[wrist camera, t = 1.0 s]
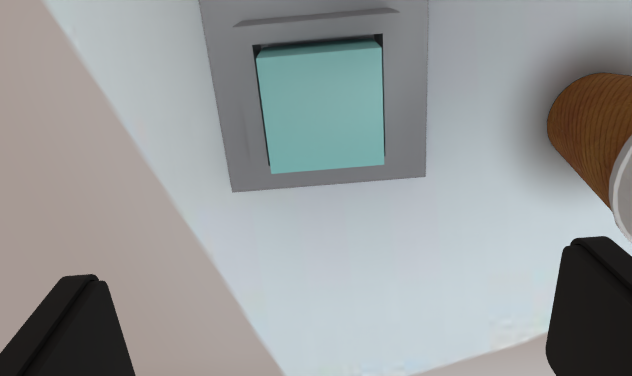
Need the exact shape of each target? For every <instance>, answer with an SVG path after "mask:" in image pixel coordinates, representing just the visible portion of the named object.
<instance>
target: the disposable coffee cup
mask: <svg viewBox="0 0 632 376" xmlns="http://www.w3.org/2000/svg"><path fill="white" fill-rule="evenodd" d="M547 132H548V137H549V139H550V142H551V144H552V145H553V146H554V147H555V149H556V150H557V151H558V152H559V153H560V154H561V155H562V156H563V158H564V159H565V160H566V161H567V162H568V163H569V164H570V165H571V166H572V167H573V169H574V170H575V171H576V172H577V173H578V174H579V175H580V176H581V178H582V179H583V180H584V181H585V182H586V183H587V184H588V185H589V186H590V188H591V189H592V190H593V191H594V192H595V193H596V194H597V195H598V196H599V198H600V199H601V200H602V201H603V202H604V203H605V204H606V205H607V207H609V208H610V210H611V211H612V212H613V215H614V218H615V222H616V225H617V226H618V228H619V229H620V230H621V232H622V233H623V234H624V236H625V237H626V238H627V239H628V240H629V241H630V242H631V243H632V76H629V75H617V74H611V73H597V74H591V75H588V76H585V77H583V78H580V79H579V80H577V81H575V82H573V83H572V84H571V85H570V86H568V87H567V88H566V89H565V90H564V91H563V92H562V93H561V94H560V95H559V96H558V98H557V99H556V101H555V102H554V104H553V106H552V108H551V110H550V113H549V116H548V120H547Z"/></svg>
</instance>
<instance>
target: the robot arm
mask: <svg viewBox="0 0 632 376" xmlns="http://www.w3.org/2000/svg"><path fill="white" fill-rule="evenodd" d="M546 356H547V360H548V363H549V365H550V366H551V368H552V369H553V371H554V373H555V374H556V376H632V256H630V255H629V254H628V253H627V252H626V251H624V250H623V249H622V248H621V247H620V246H618V245H617V244H616V243H615V242H614V241H612V240H611V239H610V238H608V237H605V236H599V237H586V238H576V239H574V240H573V241H572V242H571V244H570V246H566V247H565V248H564V249H563V252H562V257H561V263H560V268H559V274H558V280H557V285H556V291H555V297H554V302H553V308H552V314H551V319H550V325H549V331H548V337H547V342H546ZM0 376H135V372H134V370H133V366H132V363H131V359H130V356H129V353H128V350H127V347H126V343H125V340H124V337H123V333H122V330H121V327H120V324H119V320H118V317H117V314H116V311H115V308H114V305H113V301H112V298H111V294H110V291H109V288H108V285H107V283H106V282H105V281H99V279H98V278H97V276H96V275H93V274H88V275H75V276H65V277H62V278H61V279H60V280H59V281H58V283H57V284H56V285H55V286H54V288H53V289H52V290H51V291H50V292H49V294H48V295H47V296H46V297H45V299H44V300H43V301H42V302H41V304H40V305H39V306H38V307H37V309H36V310H35V311H34V312H33V313H32V315H31V316H30V317H29V318H28V320H27V321H26V322H25V324H24V325H23V326H22V327H21V328H20V330H19V331H18V332H17V333H16V335H15V336H14V337H13V338H12V340H11V341H10V342H9V343H8V344H7V346H6V347H5V348H4V349H3V351H2V352H1V353H0Z"/></svg>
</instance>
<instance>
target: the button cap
mask: <svg viewBox="0 0 632 376" xmlns="http://www.w3.org/2000/svg"><path fill="white" fill-rule="evenodd" d="M256 63H257V71H258V78H259V85H260V93H261V100H262V108H263V115H264V123H265V130H266V138H267V145H268V152H269V160H270V167H271V174H277V173H289V172H301V171H314V170H326V169H338V168H350V167H362V166H375V165H384V129H383V86H382V47H381V46H380V45H379V44H378V43H377V42H376V41H375V40H374V39H373V38H364V39H353V40H341V41H330V42H319V43H308V44H296V45H285V46H274V47H263V48H262V50H261V51H260V53H259V54H258V56H257V58H256Z"/></svg>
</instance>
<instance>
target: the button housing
mask: <svg viewBox="0 0 632 376" xmlns="http://www.w3.org/2000/svg"><path fill="white" fill-rule="evenodd" d="M199 5H200V11H201V17H202V23H203V28H204V34H205V40H206V45H207V51H208V57H209V62H210V68H211V74H212V79H213V85H214V91H215V96H216V102H217V108H218V113H219V119H220V125H221V131H222V136H223V142H224V148H225V153H226V159H227V165H228V170H229V176H230V182H231V187H232V192H244V191H256V190H268V189H280V188H293V187H305V186H317V185H330V184H342V183H354V182H367V181H379V180H391V179H404V178H416V177H425V174H426V115H427V56H428V0H199ZM364 38H373V39H374V40H375V41H376V42H377V43H378V44H379V45H380V46H381V47H382V86H383V129H384V165H375V166H362V167H350V168H338V169H326V170H314V171H301V172H289V173H277V174H271V167H270V160H269V152H268V145H267V138H266V130H265V123H264V115H263V108H262V100H261V93H260V85H259V78H258V71H257V63H256V58H257V56H258V54H259V53H260V51H261V50H262V48H263V47H274V46H285V45H296V44H308V43H319V42H330V41H341V40H353V39H364Z"/></svg>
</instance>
